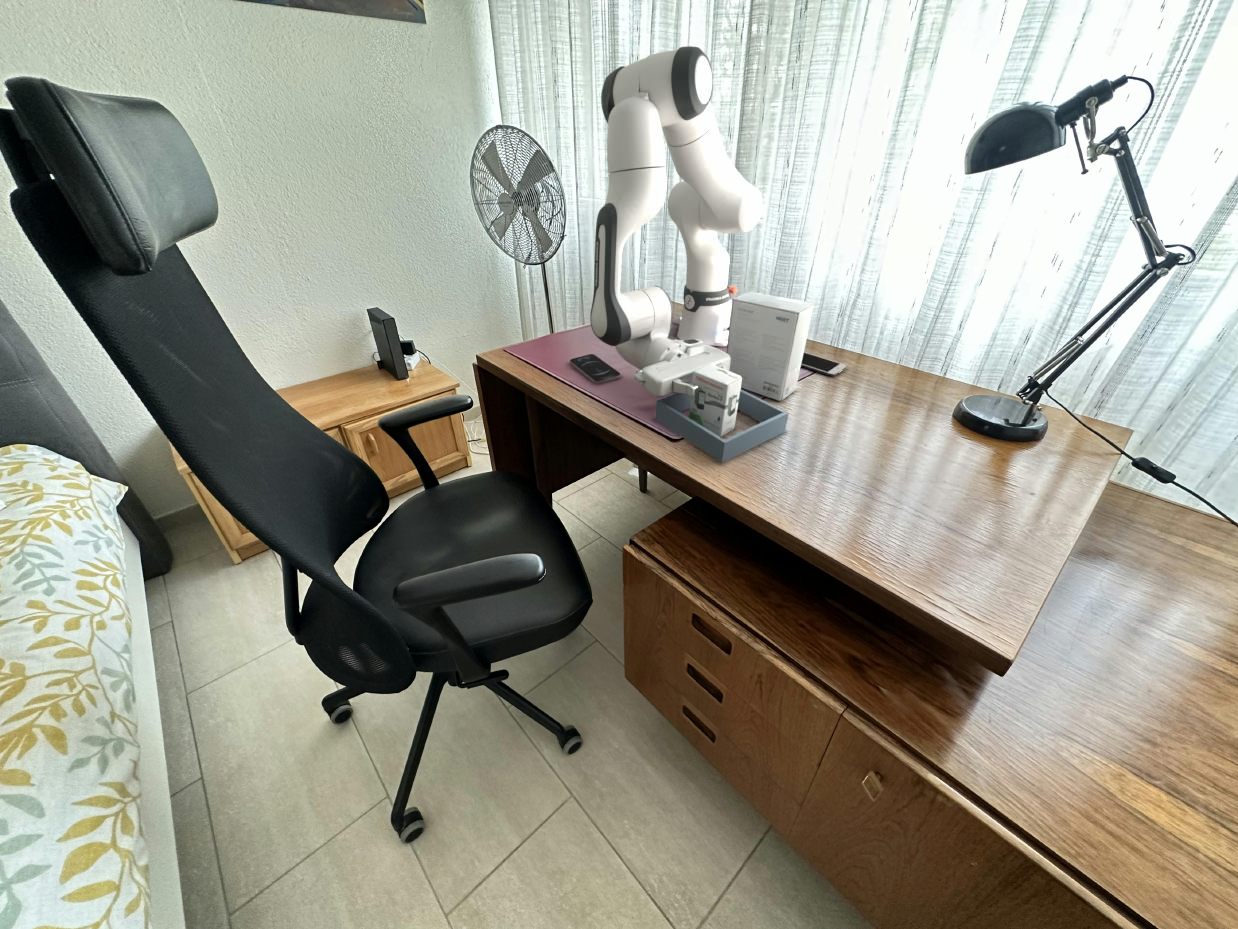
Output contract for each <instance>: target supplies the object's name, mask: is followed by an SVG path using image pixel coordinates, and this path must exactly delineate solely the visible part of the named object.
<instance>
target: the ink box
mask: <svg viewBox="0 0 1238 929" xmlns="http://www.w3.org/2000/svg"><path fill="white" fill-rule="evenodd" d="M741 383H742V377H741V376H740V375H737V374H735V373H732V372H730V371H728V370H725V369H723V368H720V367H718V366H715V365H713V364H707V365H705V366H703V367H701V368H699V369H697V370H695V371H694V375H693V384H695V385H697V386H698V388H699V390H698V394H696V395H694V396H691V407H690V408H689V417H688V418H690V419H691V420H693V421H695V422H696V423H698V424H700V425H701V426H703V427H705V428H706V429H708V430H709V431H711V432H713V433H714V434H716V435H718V436H719V437H721V438H722V437H724V436H725V435H727V434H728V433H729V432H731V431H733V430H734V429H735V426H736V420H737V413H738V410H737V408H738V402H739V395H740V389H741V390H742V388H741Z"/></svg>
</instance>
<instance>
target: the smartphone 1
mask: <svg viewBox="0 0 1238 929" xmlns="http://www.w3.org/2000/svg"><path fill="white" fill-rule="evenodd" d="M569 364H570V365H572V367H574V368H575V369H576V370H577V371H579V373H581V374H582V375H583V376H585V377H586V378H587V379H588V380H590V381H591V382H592V383H593V384H596V385H600V384H604V383H607V382H610V381H614V380H618V379H620V378H621V372H620V371H618V370H617V369H615V368H614V367H612V366H611V364H608V363H607V362H606V361H605V360H603V359H601V358H600V357H599V356H597V355H596V354H594V353H590V354H584V355H581V356H578V357H574V358H571V359H569Z"/></svg>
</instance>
